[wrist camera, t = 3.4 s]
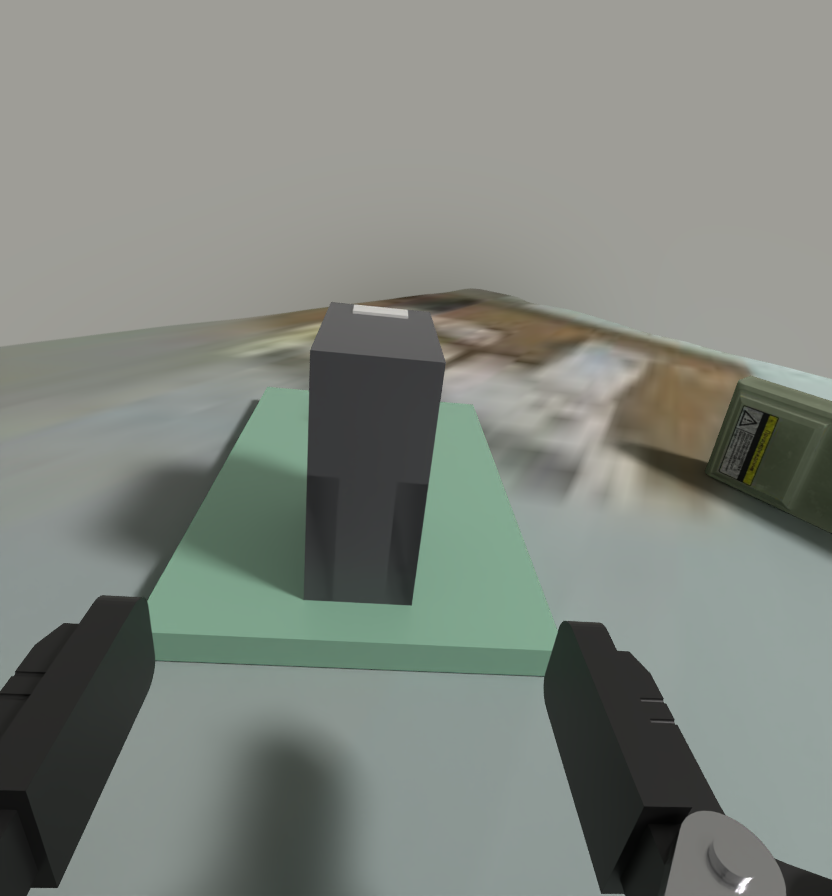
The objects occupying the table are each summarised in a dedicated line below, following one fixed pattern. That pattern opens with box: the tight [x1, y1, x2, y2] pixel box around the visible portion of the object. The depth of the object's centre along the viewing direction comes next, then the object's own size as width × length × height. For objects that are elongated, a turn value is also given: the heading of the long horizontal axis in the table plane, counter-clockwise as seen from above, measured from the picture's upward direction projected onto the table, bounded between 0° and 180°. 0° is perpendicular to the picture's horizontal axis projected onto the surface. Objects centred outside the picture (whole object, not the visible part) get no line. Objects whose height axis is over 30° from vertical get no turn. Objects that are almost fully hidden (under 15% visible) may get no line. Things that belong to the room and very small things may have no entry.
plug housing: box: [304, 302, 446, 606], centre depth 20 cm, size 6×4×9 cm, turn 3°
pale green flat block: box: [147, 387, 558, 676], centre depth 27 cm, size 22×14×5 cm, turn 3°
